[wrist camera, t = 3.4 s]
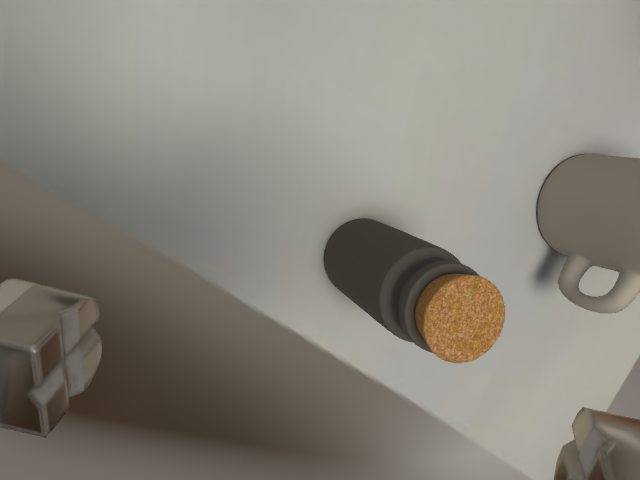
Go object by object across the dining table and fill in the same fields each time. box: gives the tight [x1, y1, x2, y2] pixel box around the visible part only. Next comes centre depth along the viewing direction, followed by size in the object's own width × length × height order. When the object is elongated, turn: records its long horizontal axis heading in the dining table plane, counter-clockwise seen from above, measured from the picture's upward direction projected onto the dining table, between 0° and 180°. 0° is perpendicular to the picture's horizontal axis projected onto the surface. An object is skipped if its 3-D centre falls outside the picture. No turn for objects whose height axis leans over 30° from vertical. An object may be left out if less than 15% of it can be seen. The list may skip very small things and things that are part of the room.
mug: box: [537, 154, 640, 313], centre depth 45 cm, size 12×8×11 cm
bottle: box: [324, 219, 505, 363], centre depth 38 cm, size 6×6×15 cm
